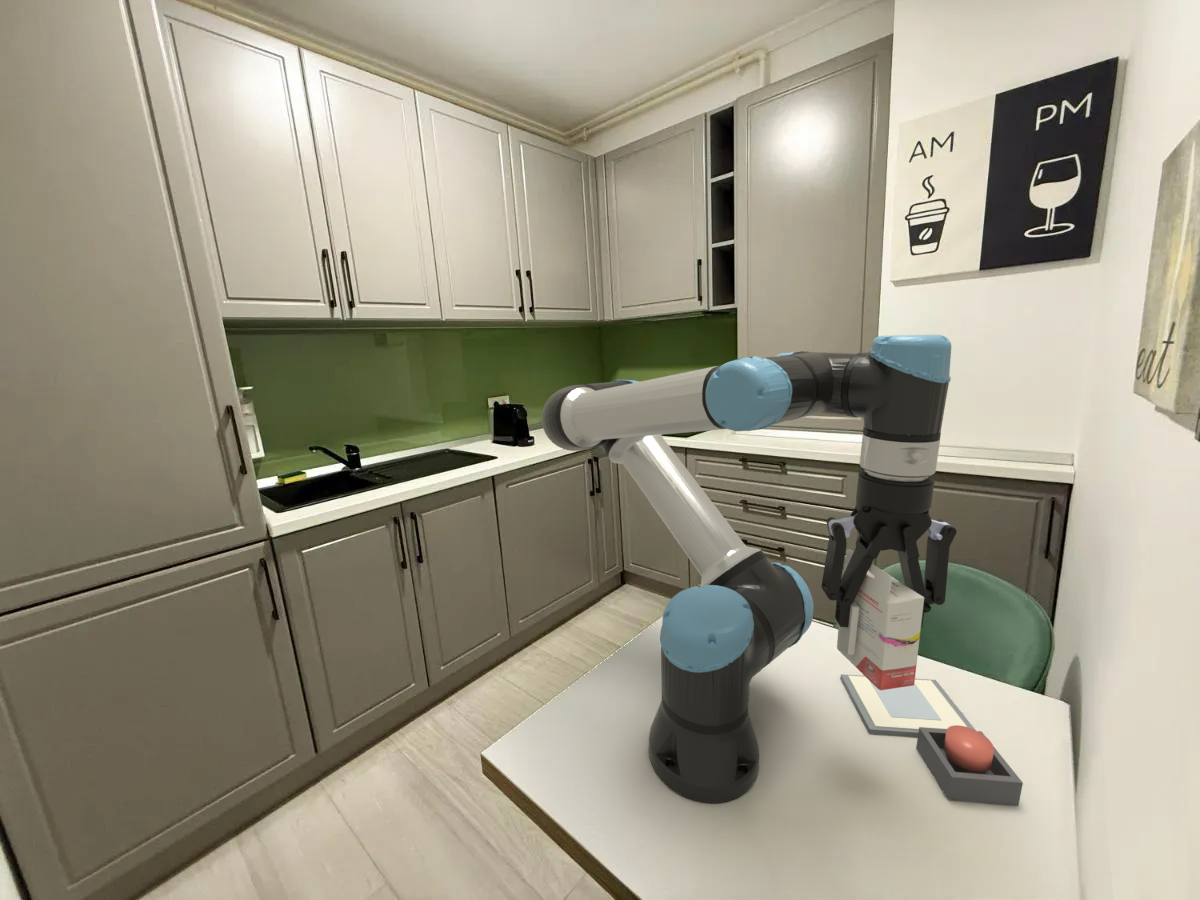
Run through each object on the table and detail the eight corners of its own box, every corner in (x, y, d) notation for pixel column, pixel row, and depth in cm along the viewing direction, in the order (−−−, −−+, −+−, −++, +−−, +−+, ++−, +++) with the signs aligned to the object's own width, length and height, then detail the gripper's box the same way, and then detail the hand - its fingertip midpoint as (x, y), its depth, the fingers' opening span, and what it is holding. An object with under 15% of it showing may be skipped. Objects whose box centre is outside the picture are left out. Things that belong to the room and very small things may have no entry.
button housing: (948, 799, 61) (951, 777, 60) (916, 747, 69) (919, 727, 68) (1018, 806, 60) (1023, 782, 59) (977, 752, 68) (981, 731, 67)
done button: (957, 771, 62) (960, 754, 61) (936, 739, 67) (938, 723, 66) (1000, 774, 61) (1003, 757, 61) (975, 742, 66) (978, 726, 65)
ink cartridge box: (917, 686, 58) (931, 573, 55) (879, 692, 57) (891, 578, 54) (868, 643, 66) (877, 543, 63) (834, 648, 66) (842, 546, 62)
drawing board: (869, 733, 72) (869, 727, 71) (840, 678, 83) (840, 672, 83) (980, 741, 70) (981, 735, 69) (935, 683, 81) (935, 678, 81)
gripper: (820, 480, 54) (804, 664, 59) (1008, 483, 51) (974, 674, 56) (801, 463, 61) (788, 628, 66) (965, 464, 58) (938, 635, 64)
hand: (874, 649), depth 61 cm, fingers closed on ink cartridge box, 6 cm apart
